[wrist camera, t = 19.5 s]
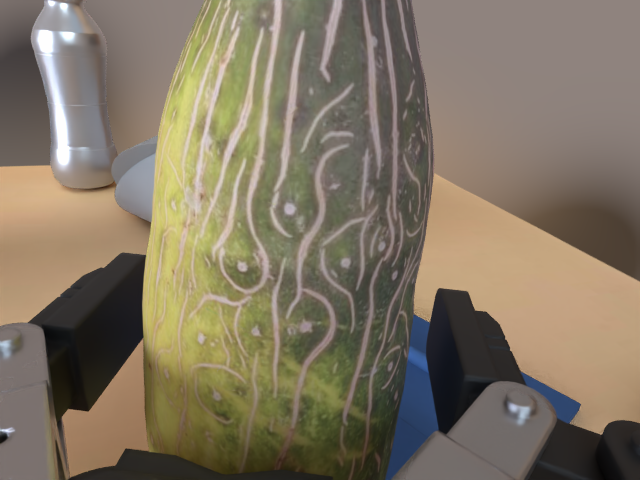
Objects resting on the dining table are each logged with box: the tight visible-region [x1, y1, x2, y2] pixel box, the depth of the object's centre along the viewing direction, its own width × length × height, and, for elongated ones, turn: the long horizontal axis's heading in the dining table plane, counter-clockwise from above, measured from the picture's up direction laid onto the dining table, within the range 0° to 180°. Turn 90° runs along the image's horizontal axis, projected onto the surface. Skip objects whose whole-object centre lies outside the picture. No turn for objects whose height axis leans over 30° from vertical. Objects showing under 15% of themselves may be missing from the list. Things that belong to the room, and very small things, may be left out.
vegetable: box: [142, 0, 434, 480], centre depth 11 cm, size 6×6×20 cm
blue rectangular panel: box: [385, 314, 581, 480], centre depth 28 cm, size 22×12×1 cm, turn 45°
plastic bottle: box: [31, 0, 118, 189], centre depth 47 cm, size 6×7×20 cm
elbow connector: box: [111, 135, 158, 222], centre depth 44 cm, size 18×11×20 cm
